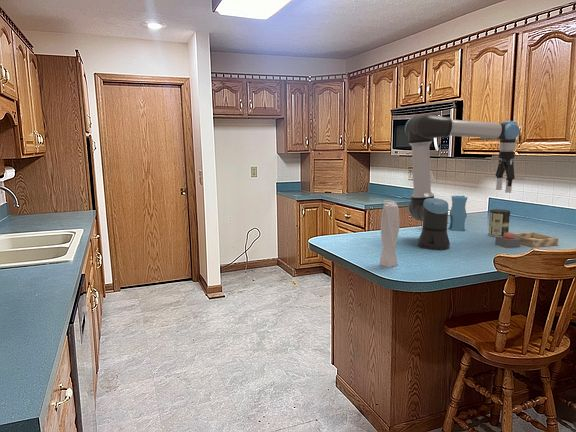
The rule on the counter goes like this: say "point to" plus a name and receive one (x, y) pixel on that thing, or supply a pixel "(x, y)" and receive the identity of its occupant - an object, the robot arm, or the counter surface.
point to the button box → (507, 242)
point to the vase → (458, 213)
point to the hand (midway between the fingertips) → (503, 191)
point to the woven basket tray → (536, 239)
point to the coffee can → (498, 222)
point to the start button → (508, 235)
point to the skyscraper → (389, 233)
